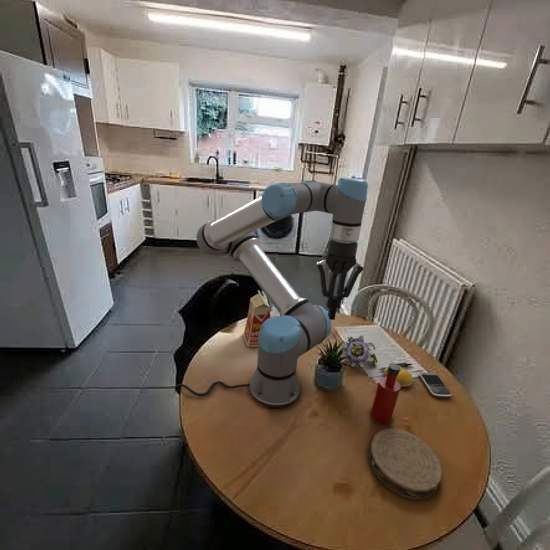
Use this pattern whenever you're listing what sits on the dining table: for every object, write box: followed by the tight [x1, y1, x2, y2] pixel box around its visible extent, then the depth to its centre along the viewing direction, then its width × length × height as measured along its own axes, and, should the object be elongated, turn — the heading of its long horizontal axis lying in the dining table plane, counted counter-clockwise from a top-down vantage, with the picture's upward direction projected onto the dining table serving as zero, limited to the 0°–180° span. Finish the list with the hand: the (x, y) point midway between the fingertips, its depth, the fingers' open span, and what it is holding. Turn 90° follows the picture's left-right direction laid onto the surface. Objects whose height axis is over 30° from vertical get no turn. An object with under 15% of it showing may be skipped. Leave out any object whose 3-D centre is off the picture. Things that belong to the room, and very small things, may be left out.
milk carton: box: [242, 289, 272, 348], centre depth 115 cm, size 9×9×20 cm
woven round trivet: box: [368, 428, 443, 500], centre depth 75 cm, size 16×16×3 cm
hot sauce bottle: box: [370, 362, 402, 426], centre depth 85 cm, size 6×6×18 cm
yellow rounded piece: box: [383, 364, 414, 388], centre depth 103 cm, size 8×9×4 cm
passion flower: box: [342, 334, 378, 368], centre depth 110 cm, size 11×11×12 cm
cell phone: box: [418, 372, 452, 398], centre depth 102 cm, size 6×11×1 cm, turn 1°
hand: (331, 317), depth 90 cm, fingers closed
